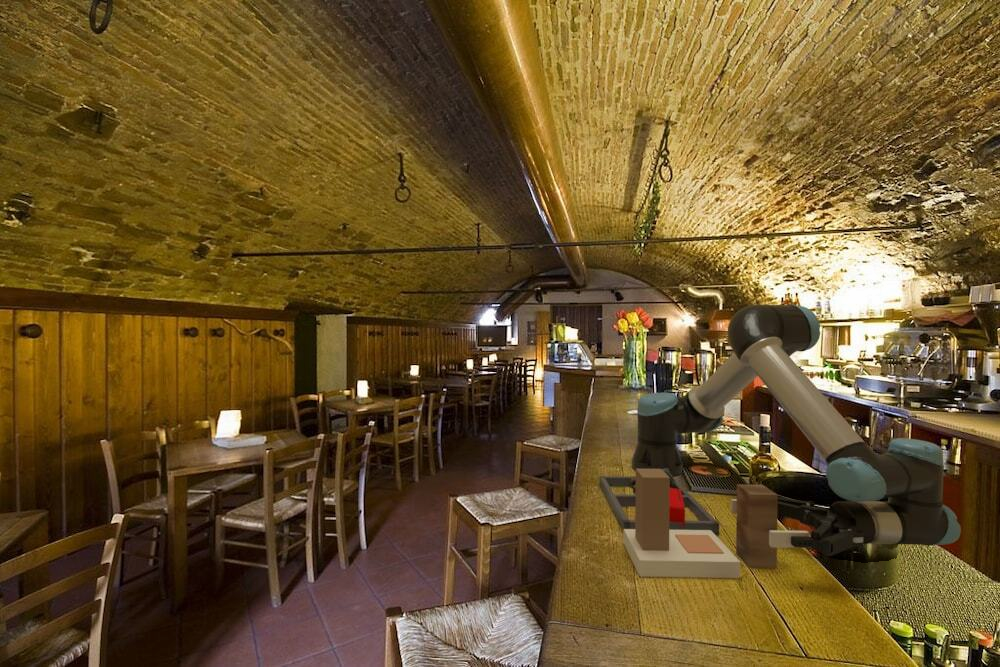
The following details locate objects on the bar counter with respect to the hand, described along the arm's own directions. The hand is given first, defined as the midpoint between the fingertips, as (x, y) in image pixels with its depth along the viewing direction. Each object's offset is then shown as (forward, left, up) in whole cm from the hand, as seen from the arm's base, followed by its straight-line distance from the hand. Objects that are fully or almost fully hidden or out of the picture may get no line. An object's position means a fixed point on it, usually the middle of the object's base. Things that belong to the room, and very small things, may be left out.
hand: (749, 521), depth 84 cm
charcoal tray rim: (-25, -11, -8) cm, 28 cm away
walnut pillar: (0, +1, -8) cm, 8 cm away
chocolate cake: (-33, -9, -8) cm, 35 cm away
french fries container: (-18, -11, -8) cm, 23 cm away
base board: (0, -14, -8) cm, 16 cm away
